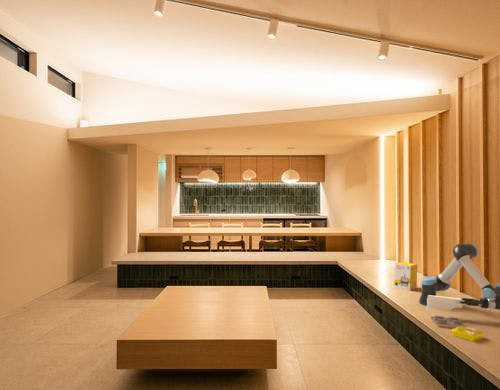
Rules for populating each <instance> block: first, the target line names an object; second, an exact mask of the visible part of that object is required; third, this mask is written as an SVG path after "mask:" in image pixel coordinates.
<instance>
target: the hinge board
mask: <svg viewBox="0 0 500 390" xmlns="http://www.w3.org/2000/svg"><path fill="white" fill-rule="evenodd" d="M430 320H431V321H432V322H433V323H434V324H436V326H437V327H438V328H441V329H442V328H443V329H451V330H452V329H453V328H456V327H459V326H465V327H468V328H470V327H469V326H468V325H467V324H465V323H464V322H463V321H462V320H461V319H460V318H458V317H455V316H454V317H451V316H449V317H445V316H442V315H434V316H430Z"/></svg>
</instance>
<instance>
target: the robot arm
mask: <svg viewBox="0 0 500 390" xmlns="http://www.w3.org/2000/svg"><path fill="white" fill-rule="evenodd" d="M479 253H480V252H479V248H478V246H476V245H475V244H474V243H468V242H467V243H458V244H457V243H456V244H455V245H454V247H453V248H452V254H453V257H454V258H453V259H452V260H451V261H450V262H449V264H448V265H447V266H446V267H445V269H444V270H443V271H442V272H441V273H438V274H437V275H436V277H435V276H428V275H427V276H424V277H422V278H421V295H420V296H419V299H418V300H419V301H418V302H419V304H420V305H424V306H427V298H428V295H432V296H437V292H444V291H447V290H448V289H450V288H451V283H452V280H453V278H454V277H455V275H456V274H457V273H458V272H459V271H460V270H461V269H462V267H463V268H464V269H465V271H467V273H468V274H469V276H470V277H471V278H472V279H473V281H474V282H475V283H476V285H478V286H479V288H480V289H481V292H482V293H481V294H482V297H480V299H475V298H468V297H461V298H460V297H459V298H460V299H461V300H455V303H457V304H462V305H465V306H466V305H467V306H472V307H479V308H481V309H485V310H486V309H490V311H491V310H499V311H500V283H496V284H495V286H493V285H492V284H491V283H490V282H489V281H488V279H487V278H486V277H485V275H484V274H483V273H482V271H481V270H480V269H479V268H478V267H477V265H476V264H475V263H474V261H473V260H472V259H473V258H474V259H475V258H476V257H478V256H479Z"/></svg>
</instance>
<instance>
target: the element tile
mask: <svg viewBox="0 0 500 390" xmlns="http://www.w3.org/2000/svg"><path fill="white" fill-rule="evenodd" d="M468 327H469V326H468ZM468 327H465V326H459V327H456V328H453V329H451V335H452V336H453V337H457V338H460V339H463V340H466V341H469V342H472V343H477V342H479V341H481V340H483V339H484V338H485V337H484V335H485V333H484V331H481V330H479V329H475V328H471V327H469V328H468Z"/></svg>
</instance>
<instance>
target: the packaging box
mask: <svg viewBox="0 0 500 390" xmlns="http://www.w3.org/2000/svg"><path fill="white" fill-rule="evenodd" d="M393 282H394V284H393V285H394V286H393V287H394V288H396V289H400V290H406V291H413V290H415V288H416V289H417V287H418V286H417V285H418V283H417V282H418V264H417V263H411V262H404V261H401V262H396V263H394V281H393ZM412 289H413V290H412Z"/></svg>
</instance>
